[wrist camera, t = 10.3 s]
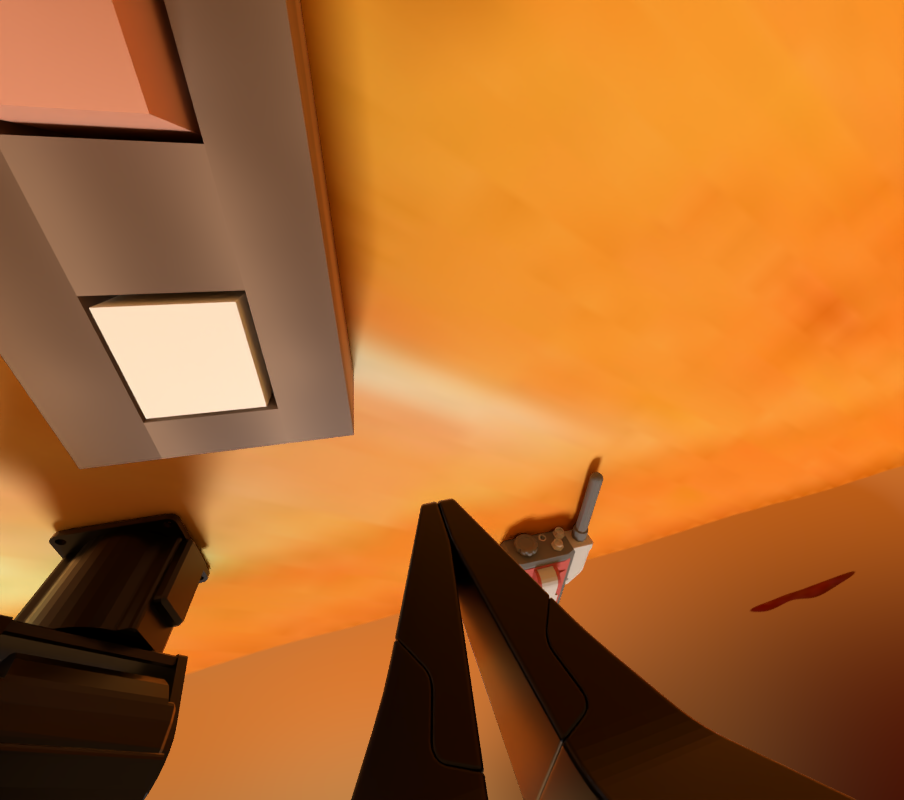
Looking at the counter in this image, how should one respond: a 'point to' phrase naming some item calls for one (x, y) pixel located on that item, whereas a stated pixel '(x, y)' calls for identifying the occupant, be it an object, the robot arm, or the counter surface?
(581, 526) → the walkie-talkie
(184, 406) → the cream plug
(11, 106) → the plug terracotta
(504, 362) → the counter surface
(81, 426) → the socket board
